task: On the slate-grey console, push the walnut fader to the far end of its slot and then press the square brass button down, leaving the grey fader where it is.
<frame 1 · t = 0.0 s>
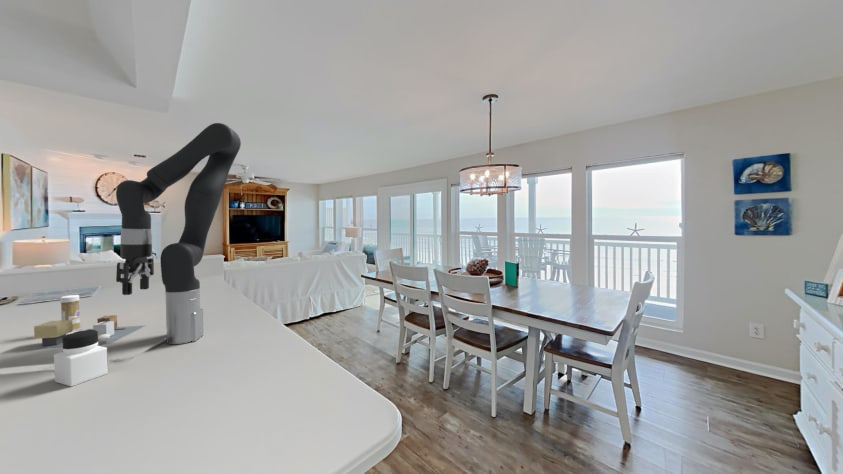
hand: (136, 291, 100), 17 cm above the counter, tool pointing down, fingers open, 8 cm apart
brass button: (54, 329, 97), point 6 cm above the counter, slide at 0.0 cm
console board: (94, 340, 103), on the counter
walnut fader: (107, 322, 109), point 4 cm above the counter, slide at 0.0 cm
sprinkles bottle: (71, 333, 111), on the counter
grey fader: (103, 329, 102), point 4 cm above the counter, slide at 0.0 cm
medicine bottle: (82, 378, 78), on the counter
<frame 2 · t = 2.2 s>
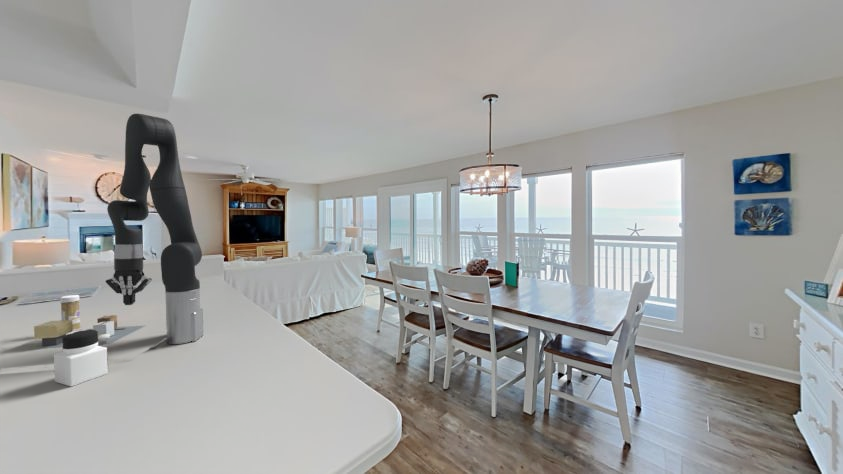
hand: (129, 304, 110), 10 cm above the counter, tool pointing down, fingers closed
nothing on the counter moved.
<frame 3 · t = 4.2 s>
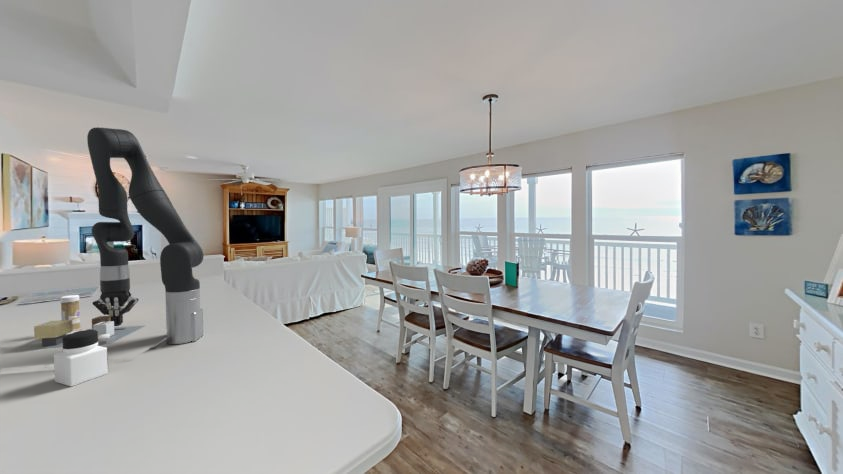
hand: (116, 325, 110), 3 cm above the counter, tool pointing down, fingers closed
walnut fader: (101, 323, 109), point 4 cm above the counter, slide at 1.6 cm, touching gripper
everything else where it was.
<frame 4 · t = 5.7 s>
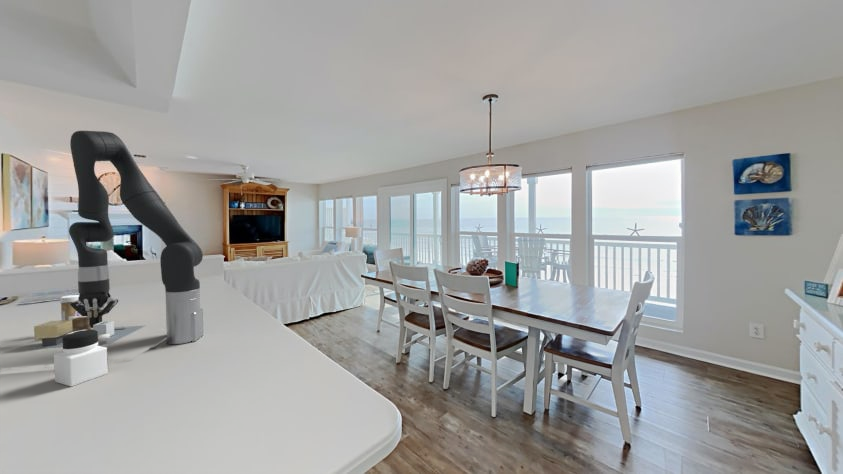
hand: (95, 327, 108), 3 cm above the counter, tool pointing down, fingers closed
walnut fader: (80, 324, 107), point 4 cm above the counter, slide at 7.7 cm, touching gripper
everything else where it was.
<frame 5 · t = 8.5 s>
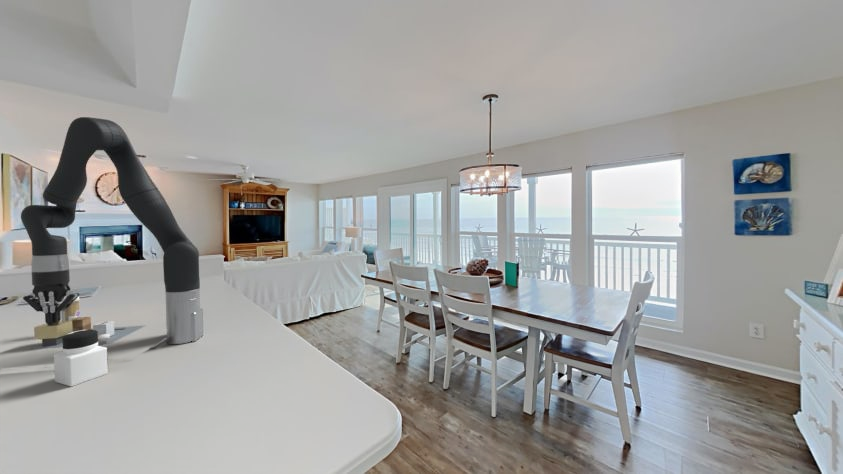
hand: (53, 323, 96), 8 cm above the counter, tool pointing down, fingers closed
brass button: (54, 329, 97), point 6 cm above the counter, slide at 0.2 cm, touching gripper
walnut fader: (80, 324, 107), point 4 cm above the counter, slide at 7.7 cm
everything else where it was.
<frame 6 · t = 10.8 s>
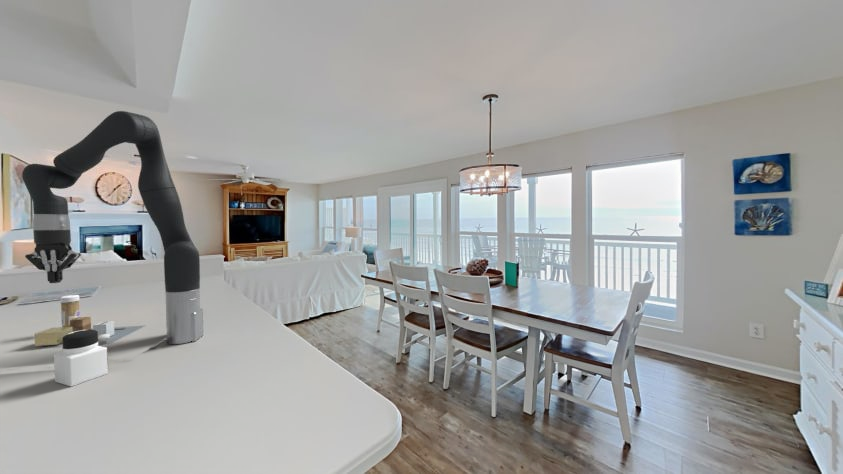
hand: (55, 282, 98), 21 cm above the counter, tool pointing down, fingers closed
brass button: (54, 335, 97), point 4 cm above the counter, slide at 2.2 cm
everything else where it was.
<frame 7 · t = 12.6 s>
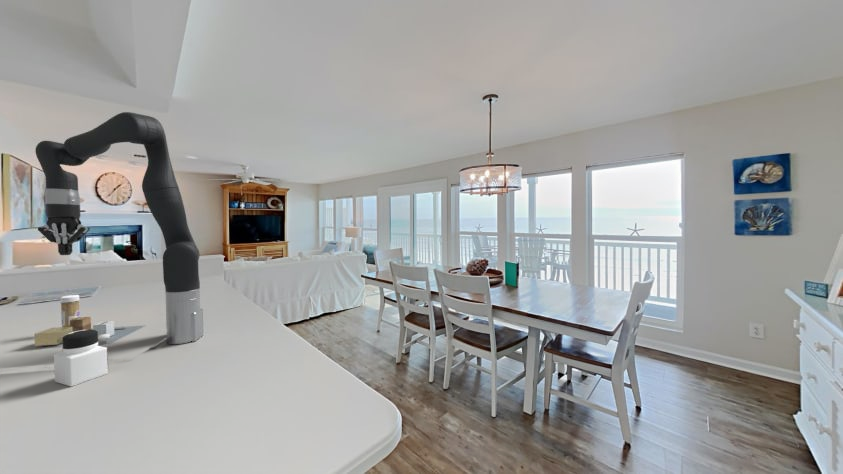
hand: (65, 254, 103), 29 cm above the counter, tool pointing down, fingers closed
nothing on the counter moved.
at the end: walnut fader slide at 7.7 cm; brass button slide at 2.2 cm; grey fader slide at 0.0 cm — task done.
